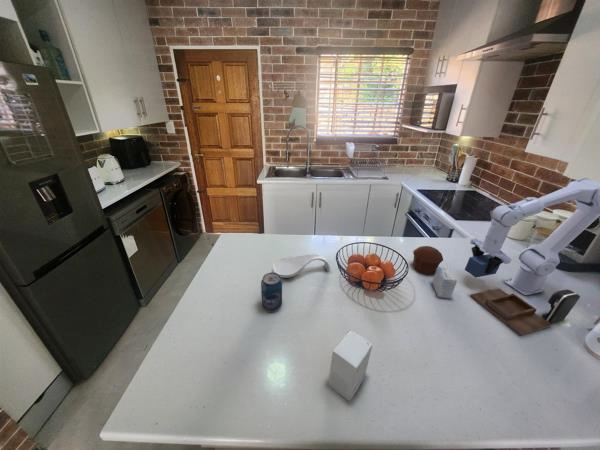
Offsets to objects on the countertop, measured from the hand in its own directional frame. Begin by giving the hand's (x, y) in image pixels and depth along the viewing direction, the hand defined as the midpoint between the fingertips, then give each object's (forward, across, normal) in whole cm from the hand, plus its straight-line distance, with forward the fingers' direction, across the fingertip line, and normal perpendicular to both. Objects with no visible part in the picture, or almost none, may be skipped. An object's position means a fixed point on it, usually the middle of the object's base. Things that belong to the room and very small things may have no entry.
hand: (481, 268), depth 96 cm
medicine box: (+8, 0, -17) cm, 19 cm away
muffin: (+8, -14, -13) cm, 20 cm away
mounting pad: (+8, +14, -1) cm, 16 cm away
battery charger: (+8, +20, +11) cm, 24 cm away
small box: (+8, +22, -67) cm, 71 cm away
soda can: (+8, -7, -81) cm, 82 cm away
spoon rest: (+8, -24, -66) cm, 71 cm away
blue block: (+2, 0, 0) cm, 2 cm away
